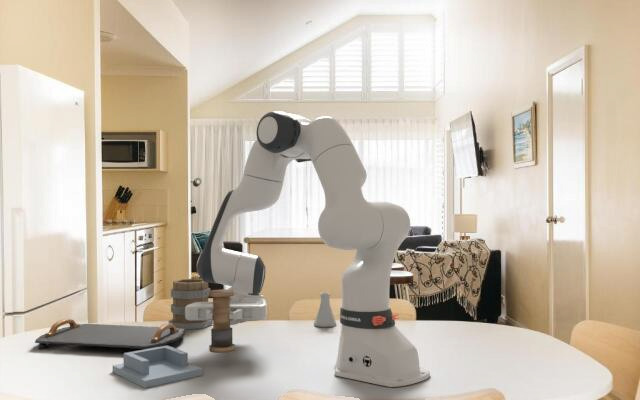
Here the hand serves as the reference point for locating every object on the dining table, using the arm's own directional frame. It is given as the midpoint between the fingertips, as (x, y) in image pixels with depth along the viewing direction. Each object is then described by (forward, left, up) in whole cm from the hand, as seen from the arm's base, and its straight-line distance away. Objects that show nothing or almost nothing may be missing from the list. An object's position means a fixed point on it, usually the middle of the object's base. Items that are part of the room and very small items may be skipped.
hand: (220, 316), depth 146 cm
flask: (+17, -50, -12) cm, 54 cm away
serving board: (+39, +9, -12) cm, 42 cm away
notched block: (+4, +14, -12) cm, 19 cm away
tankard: (+47, -22, -12) cm, 53 cm away
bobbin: (+1, -1, -8) cm, 8 cm away
